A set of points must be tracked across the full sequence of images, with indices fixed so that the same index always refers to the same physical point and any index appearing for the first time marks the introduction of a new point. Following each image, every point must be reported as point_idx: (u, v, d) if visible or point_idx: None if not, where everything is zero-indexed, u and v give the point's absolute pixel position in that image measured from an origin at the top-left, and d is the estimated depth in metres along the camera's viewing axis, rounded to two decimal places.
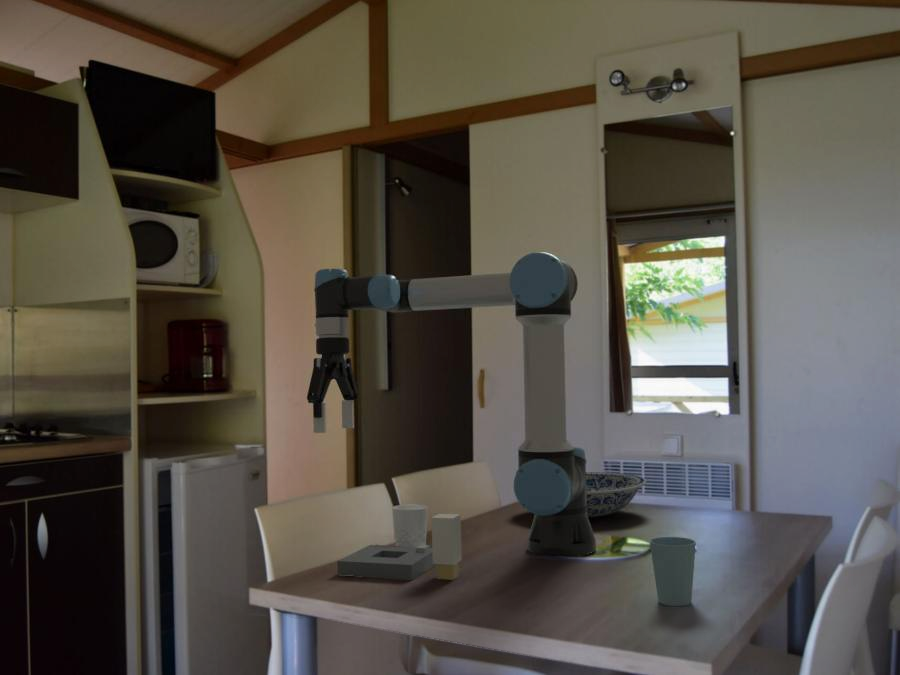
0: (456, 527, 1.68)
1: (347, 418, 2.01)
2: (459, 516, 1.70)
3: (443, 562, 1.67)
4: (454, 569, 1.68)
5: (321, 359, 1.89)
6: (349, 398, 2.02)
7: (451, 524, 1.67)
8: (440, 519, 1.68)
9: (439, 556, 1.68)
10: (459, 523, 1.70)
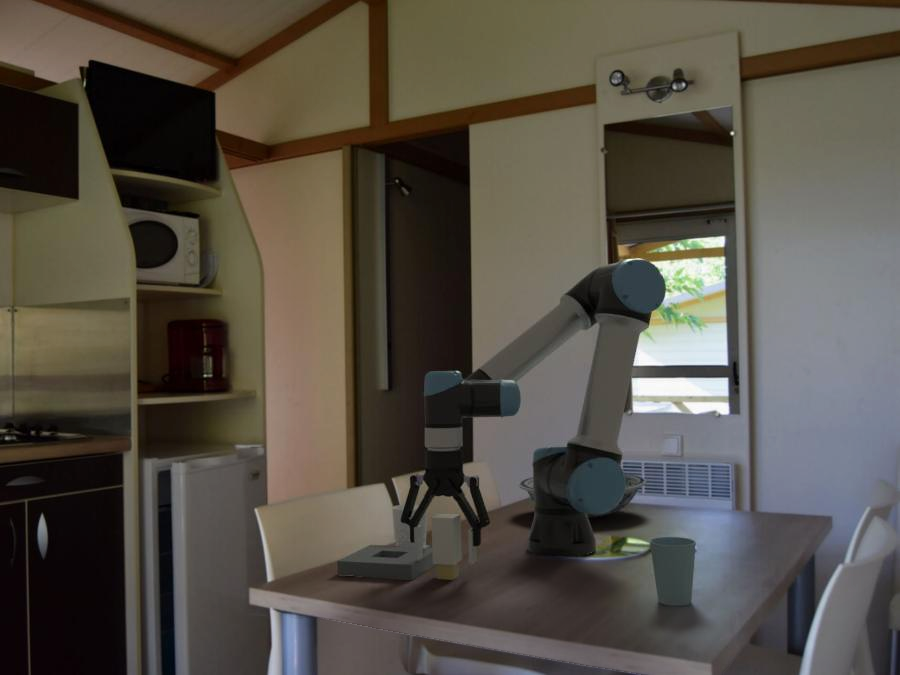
0: (456, 527, 1.68)
1: None
2: (459, 516, 1.70)
3: (443, 562, 1.67)
4: (454, 569, 1.68)
5: None
6: None
7: (451, 524, 1.67)
8: (440, 519, 1.68)
9: (439, 556, 1.68)
10: (459, 523, 1.70)
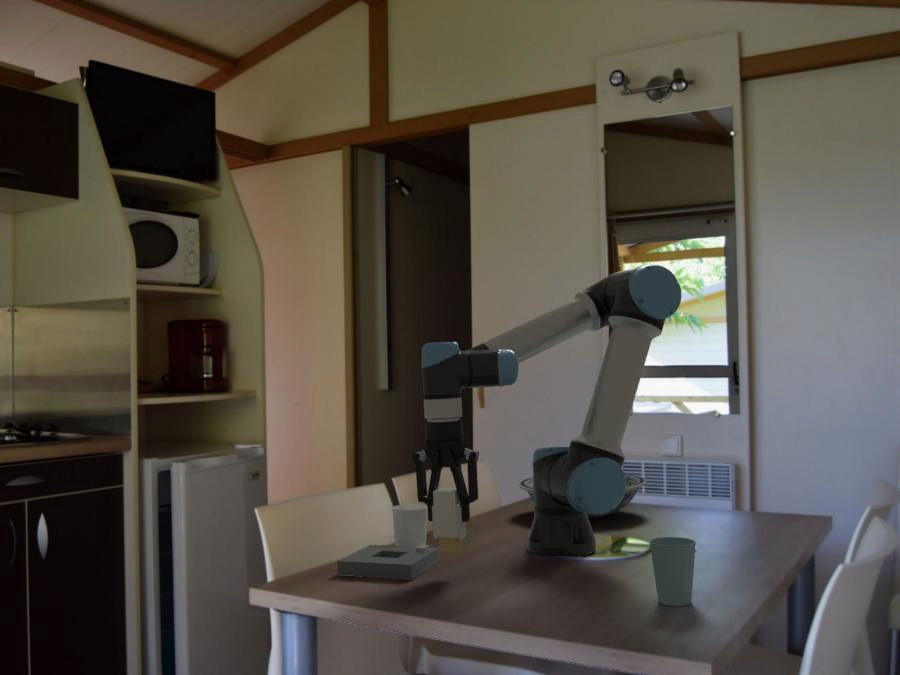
0: (457, 500, 1.69)
1: None
2: None
3: (445, 535, 1.68)
4: (457, 542, 1.69)
5: None
6: None
7: (453, 497, 1.67)
8: (441, 492, 1.68)
9: (441, 529, 1.68)
10: None
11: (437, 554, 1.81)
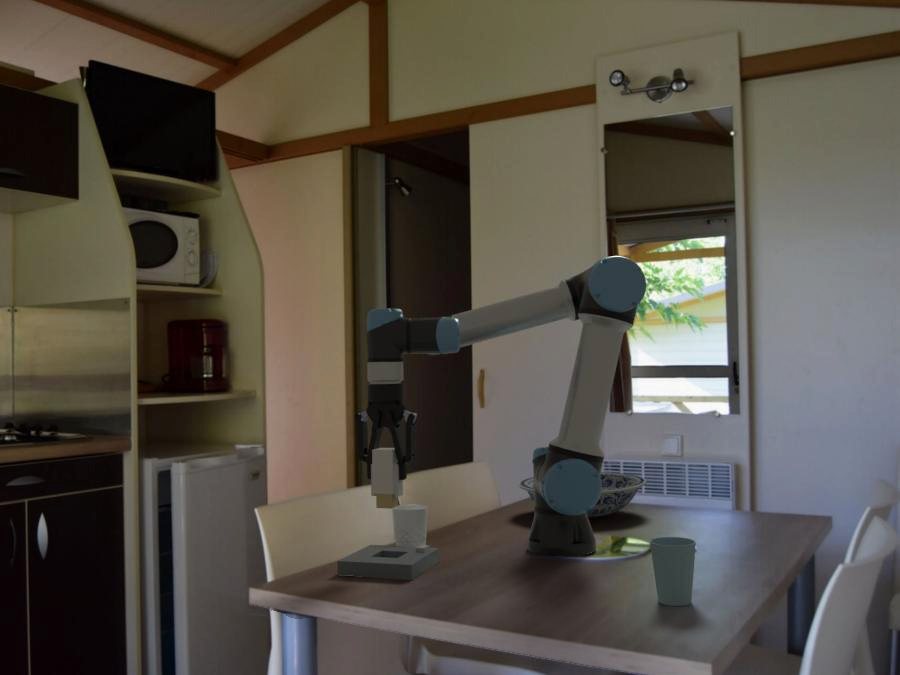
0: (395, 459, 1.77)
1: None
2: None
3: (382, 492, 1.76)
4: (393, 499, 1.77)
5: None
6: None
7: (390, 455, 1.75)
8: (380, 451, 1.76)
9: (378, 486, 1.76)
10: None
11: (437, 554, 1.81)
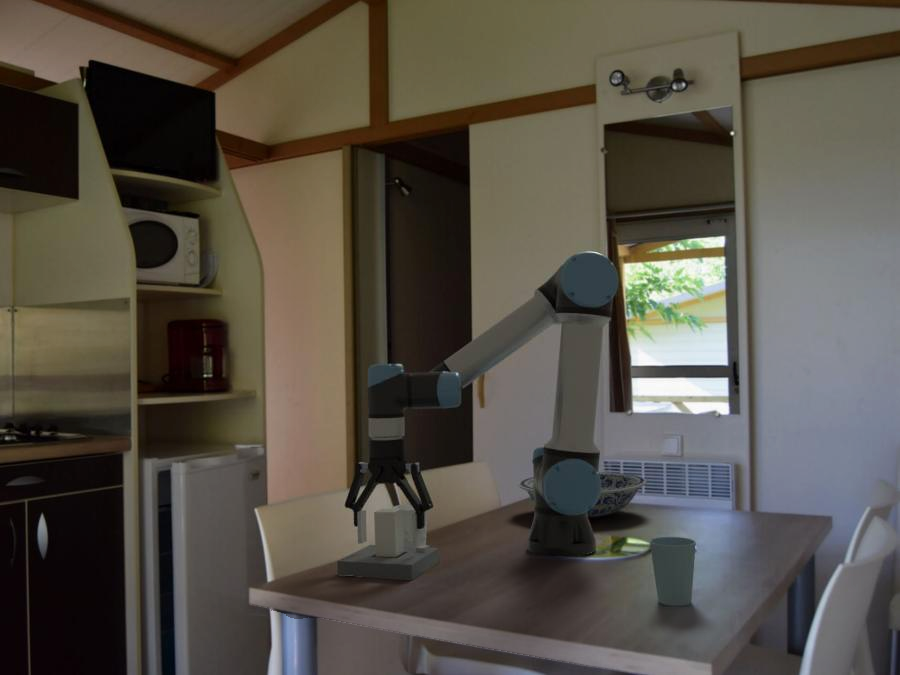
0: (397, 520, 1.77)
1: None
2: (401, 510, 1.79)
3: (385, 554, 1.75)
4: None
5: None
6: None
7: (393, 518, 1.75)
8: (382, 513, 1.76)
9: (381, 548, 1.76)
10: (401, 517, 1.79)
11: (437, 554, 1.81)
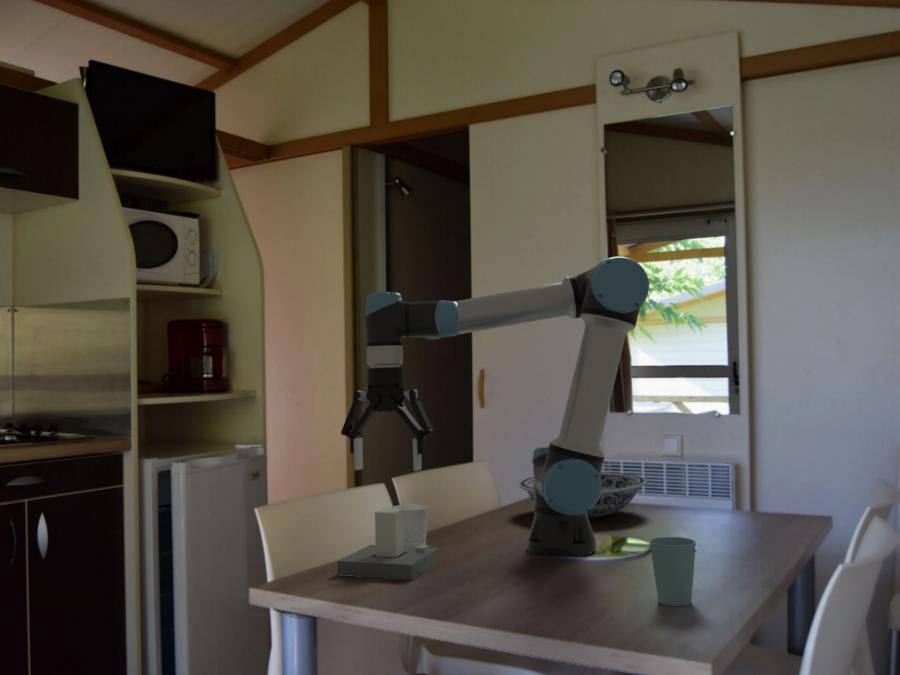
0: (398, 521, 1.77)
1: None
2: (401, 511, 1.79)
3: (386, 554, 1.75)
4: None
5: None
6: None
7: (394, 518, 1.75)
8: (383, 513, 1.76)
9: (381, 549, 1.76)
10: (401, 517, 1.79)
11: (437, 554, 1.81)
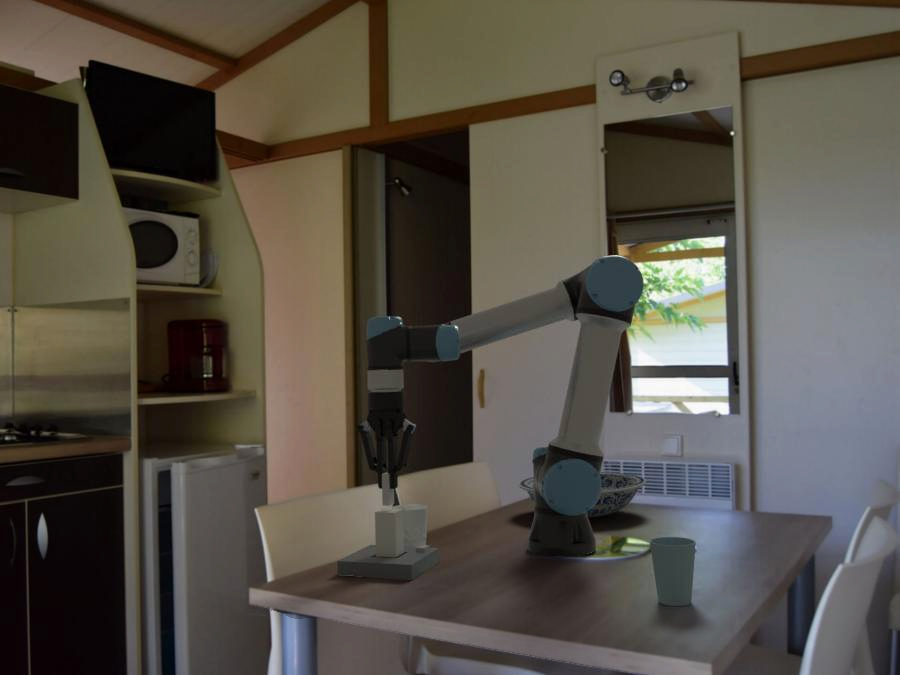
0: (398, 521, 1.77)
1: None
2: (401, 511, 1.79)
3: (386, 554, 1.75)
4: None
5: None
6: None
7: (394, 518, 1.75)
8: (383, 513, 1.76)
9: (381, 549, 1.76)
10: (401, 517, 1.79)
11: (437, 554, 1.81)
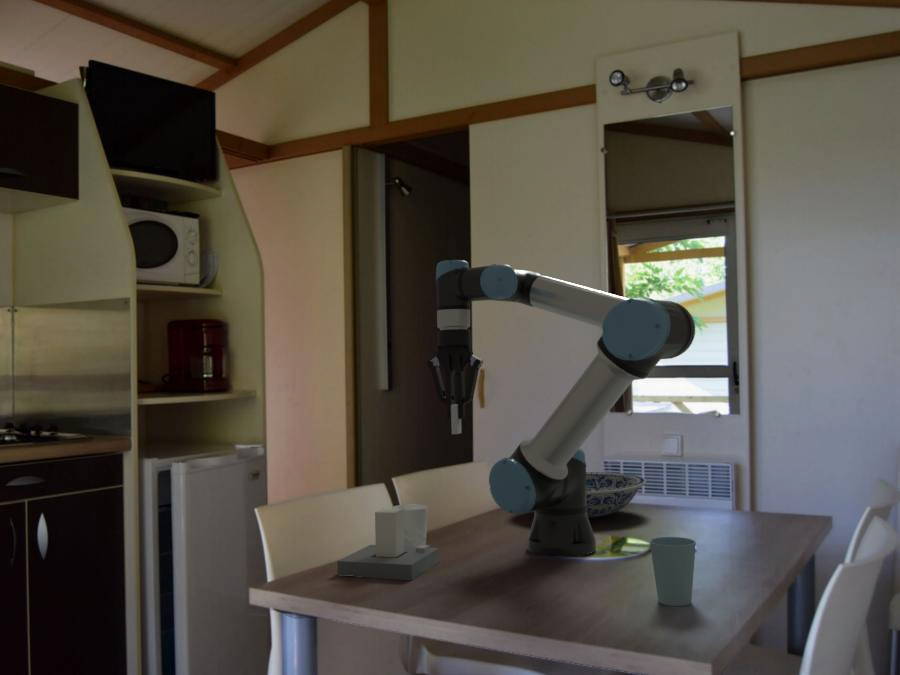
0: (398, 521, 1.77)
1: None
2: (401, 511, 1.79)
3: (386, 554, 1.75)
4: None
5: None
6: None
7: (394, 518, 1.75)
8: (383, 513, 1.76)
9: (381, 549, 1.76)
10: (401, 517, 1.79)
11: (437, 554, 1.81)
